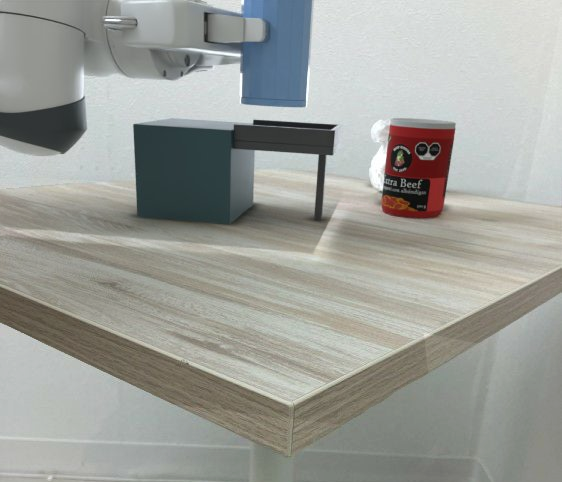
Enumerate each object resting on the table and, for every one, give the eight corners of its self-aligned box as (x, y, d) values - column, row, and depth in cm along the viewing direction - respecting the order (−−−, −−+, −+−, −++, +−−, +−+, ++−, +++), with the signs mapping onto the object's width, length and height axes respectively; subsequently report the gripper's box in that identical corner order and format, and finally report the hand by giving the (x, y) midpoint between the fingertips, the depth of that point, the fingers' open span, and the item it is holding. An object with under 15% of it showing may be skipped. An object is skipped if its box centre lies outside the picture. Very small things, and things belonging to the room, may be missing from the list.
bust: (398, 201, 103) (363, 138, 102) (440, 175, 99) (404, 109, 98) (373, 212, 93) (334, 143, 92) (418, 184, 89) (378, 111, 88)
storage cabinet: (137, 225, 68) (132, 118, 64) (173, 205, 79) (171, 113, 74) (325, 241, 65) (334, 131, 61) (335, 218, 76) (343, 124, 72)
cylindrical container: (233, 104, 59) (235, -23, 55) (248, 102, 65) (251, -13, 61) (301, 108, 58) (309, -20, 54) (310, 106, 64) (318, -10, 60)
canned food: (368, 210, 82) (377, 118, 78) (404, 205, 87) (415, 118, 83) (418, 221, 77) (431, 123, 73) (453, 214, 82) (468, 122, 78)
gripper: (86, -22, 54) (231, -24, 49) (209, 7, 71) (326, 8, 66) (91, 61, 57) (230, 68, 52) (209, 70, 74) (322, 75, 69)
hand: (285, 34), depth 59 cm, fingers closed on cylindrical container, 6 cm apart
